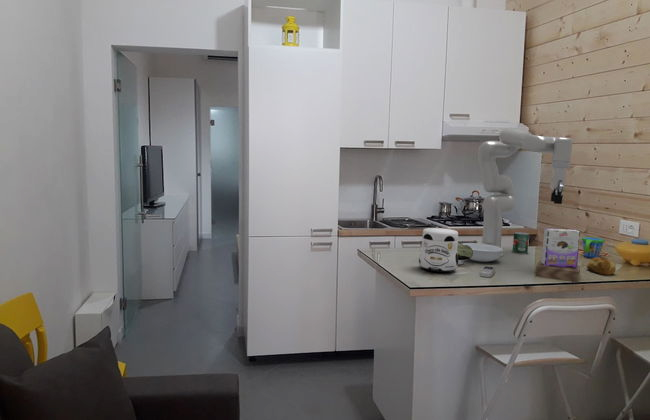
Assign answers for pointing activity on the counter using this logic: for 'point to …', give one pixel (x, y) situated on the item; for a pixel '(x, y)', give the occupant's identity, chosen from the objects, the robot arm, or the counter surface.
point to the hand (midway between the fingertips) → (556, 202)
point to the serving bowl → (484, 252)
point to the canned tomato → (520, 243)
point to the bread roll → (601, 266)
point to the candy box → (560, 247)
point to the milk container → (439, 250)
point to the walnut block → (558, 272)
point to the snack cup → (592, 246)
